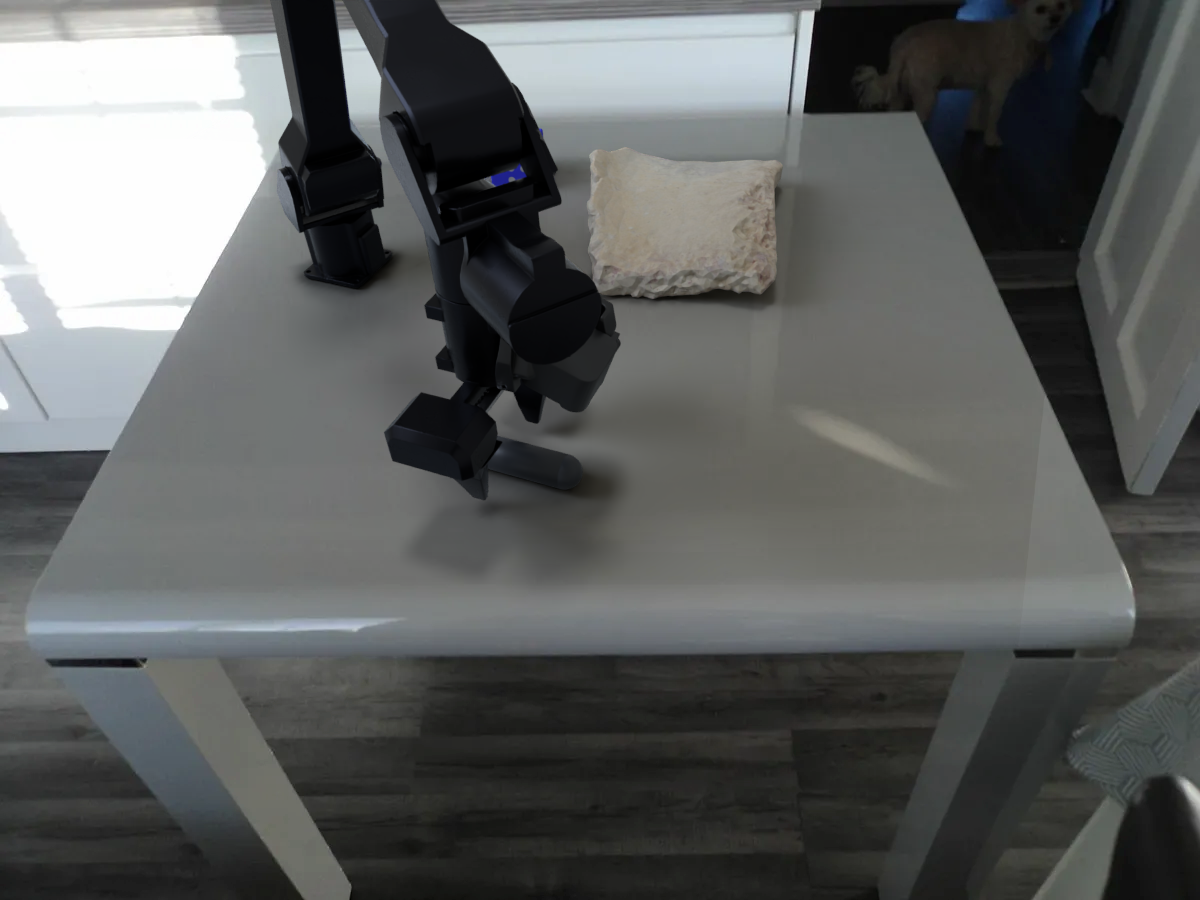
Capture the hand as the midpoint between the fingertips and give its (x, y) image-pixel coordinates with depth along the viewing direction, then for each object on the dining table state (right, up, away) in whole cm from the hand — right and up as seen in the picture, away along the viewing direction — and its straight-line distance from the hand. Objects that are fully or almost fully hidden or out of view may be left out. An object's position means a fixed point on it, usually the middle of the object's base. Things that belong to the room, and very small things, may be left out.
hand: (507, 457), depth 68 cm
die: (-2, +31, +35) cm, 47 cm away
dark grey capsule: (0, -1, +1) cm, 1 cm away
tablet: (+15, +22, +24) cm, 36 cm away
